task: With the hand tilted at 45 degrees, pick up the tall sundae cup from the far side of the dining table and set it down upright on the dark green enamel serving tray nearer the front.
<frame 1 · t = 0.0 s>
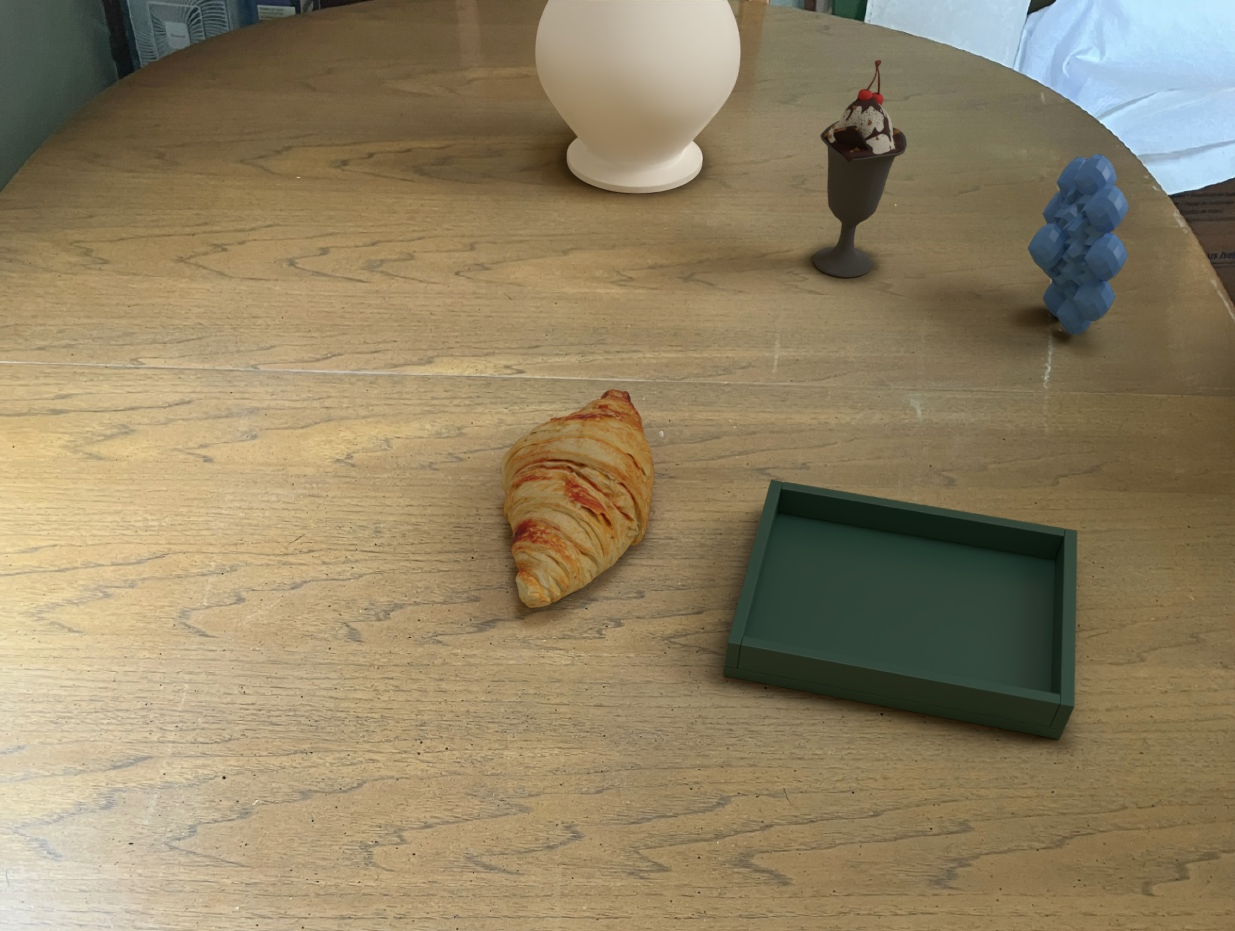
tray: (901, 617, 76), on the table
decorative vase: (634, 163, 114), on the table
sundae: (841, 264, 103), on the table
grapes: (1046, 319, 99), on the table
croissant: (575, 519, 82), on the table
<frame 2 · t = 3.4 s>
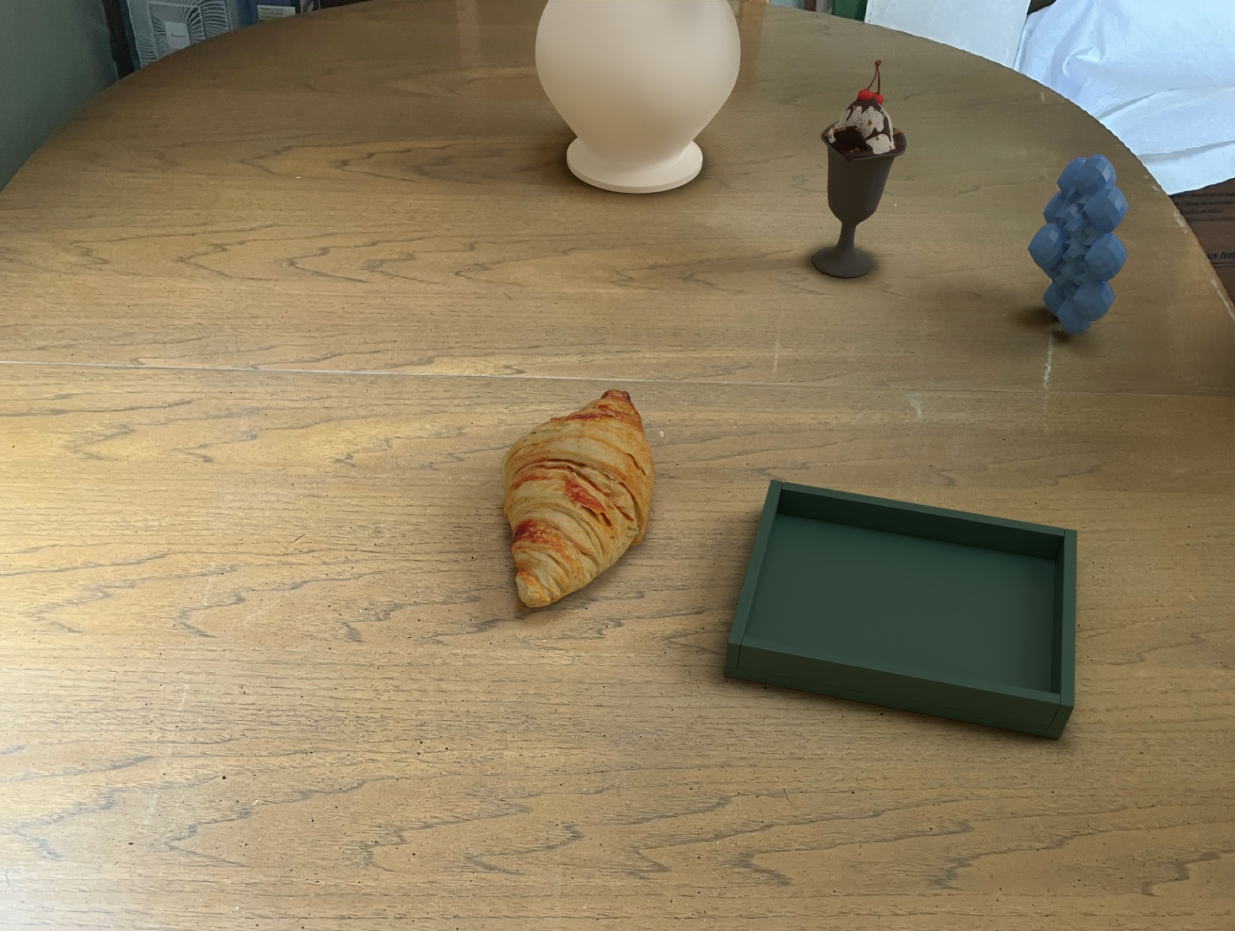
nothing on the table moved.
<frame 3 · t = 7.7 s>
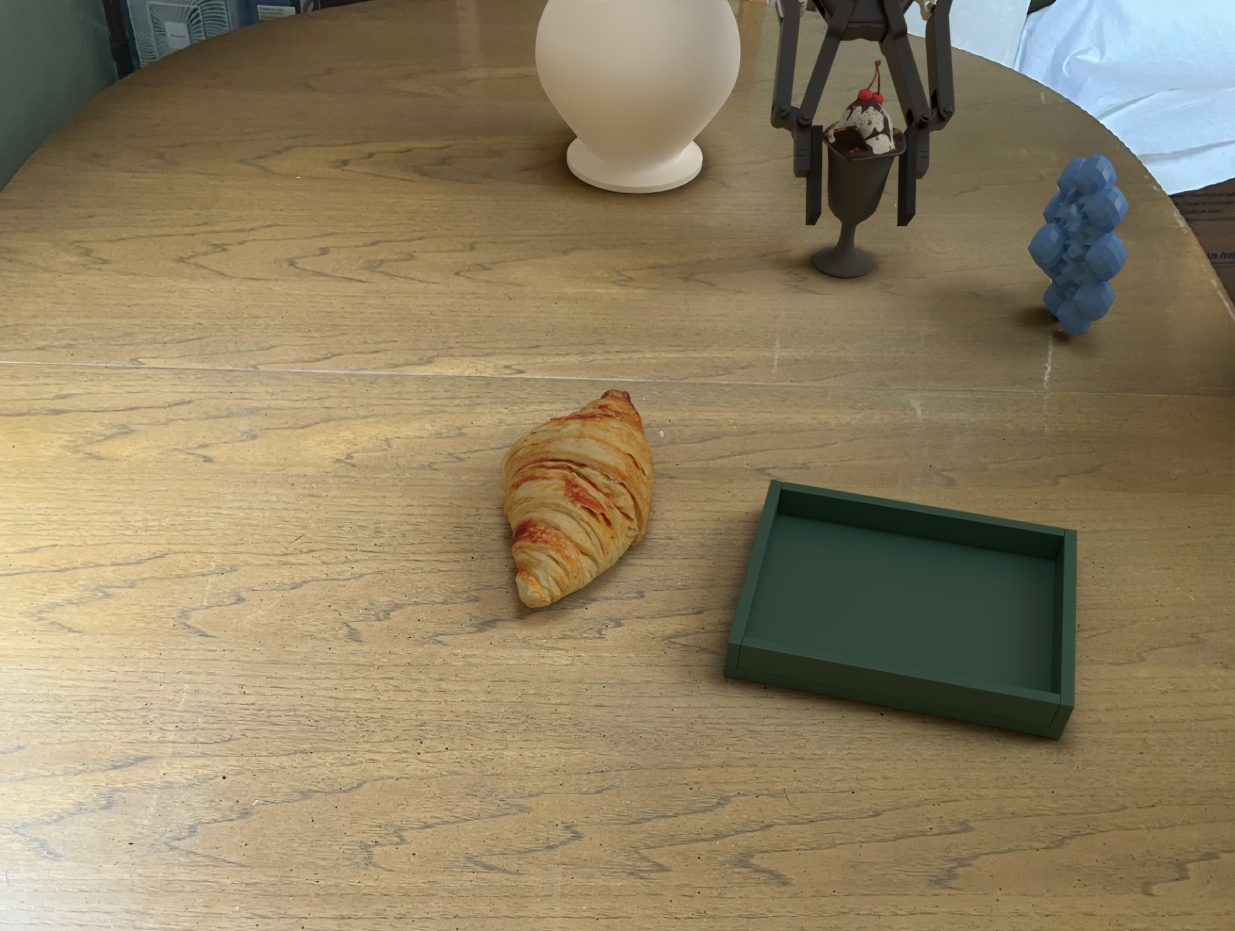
hand: (859, 219, 97), 5 cm above the table, tool tilted 45°, fingers closed on sundae, 7 cm apart
sundae: (841, 264, 103), on the table, touching gripper
everything else where it was.
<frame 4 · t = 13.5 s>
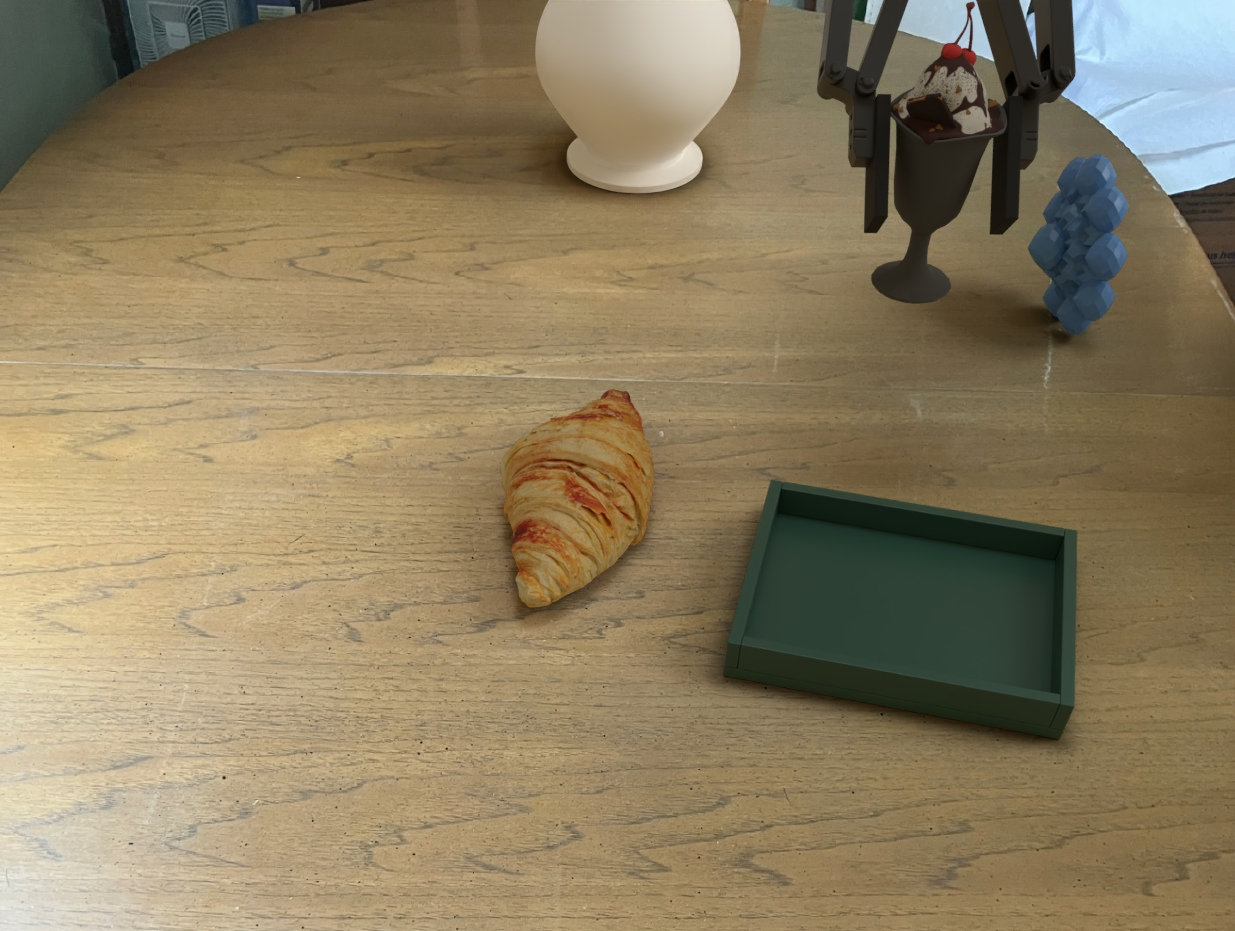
hand: (939, 225, 70), 18 cm above the table, tool tilted 45°, fingers closed on sundae, 7 cm apart
sundae: (909, 285, 77), point 13 cm above the table, touching gripper
everything else where it was.
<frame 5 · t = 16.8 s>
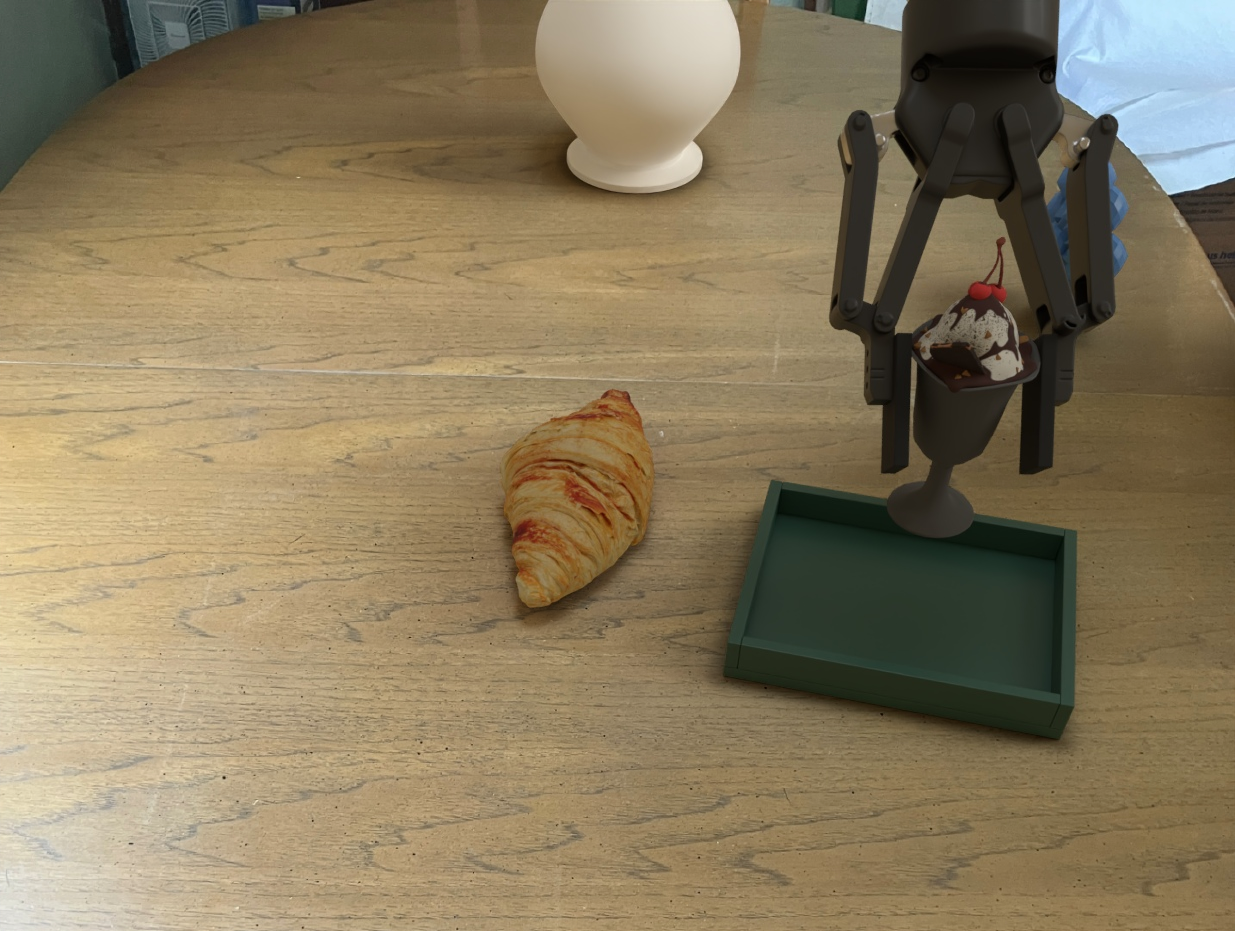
hand: (965, 469, 63), 14 cm above the table, tool tilted 45°, fingers closed on sundae, 7 cm apart
sundae: (928, 512, 70), point 8 cm above the table, touching gripper
everything else where it was.
when the fingers open (6 cm above the table, at t = 19.2 s): sundae stays where it is, resting on tray.
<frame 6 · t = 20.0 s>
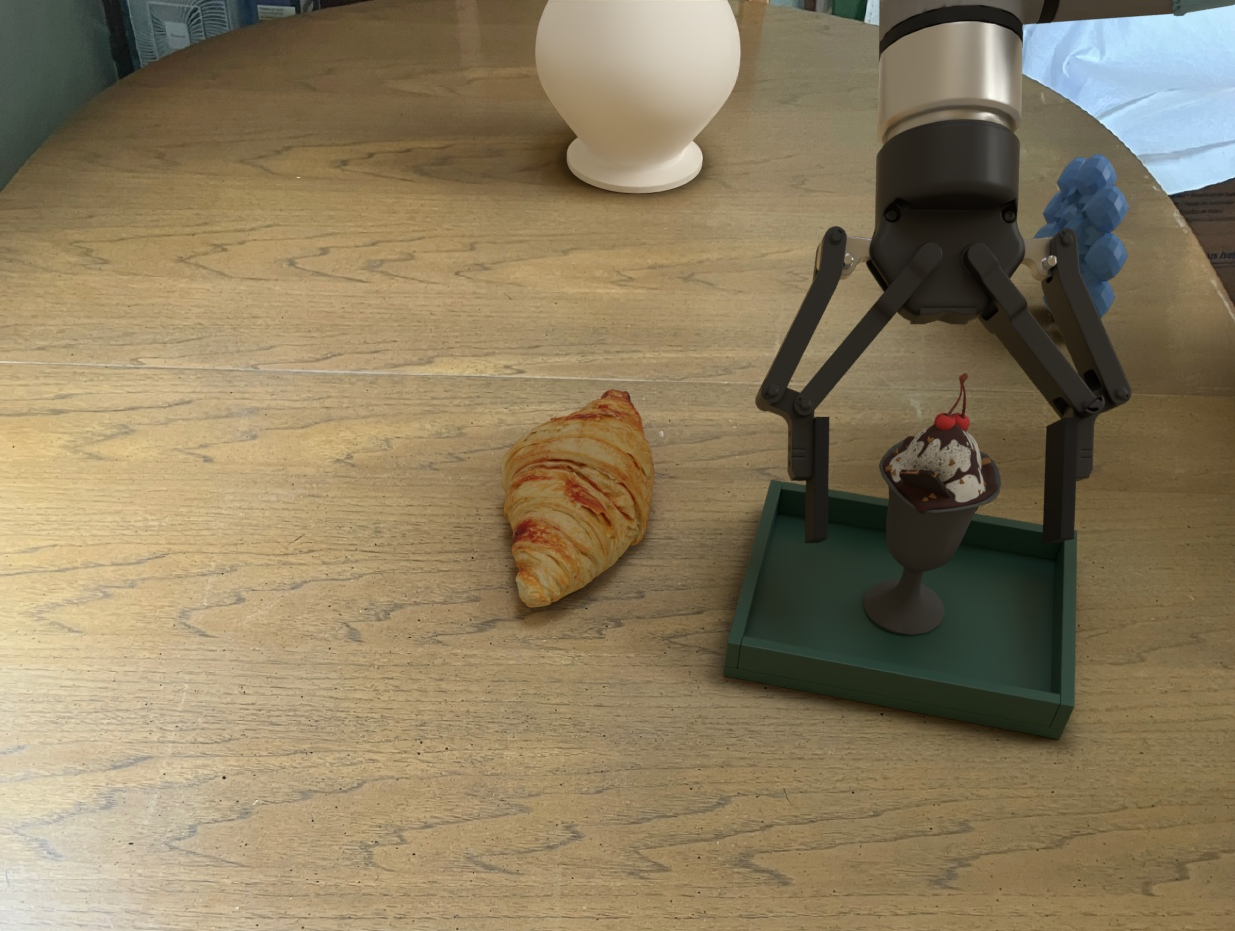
hand: (937, 541, 69), 8 cm above the table, tool tilted 45°, fingers open, 13 cm apart
sundae: (902, 609, 76), point 1 cm above the table, touching tray
everything else where it was.
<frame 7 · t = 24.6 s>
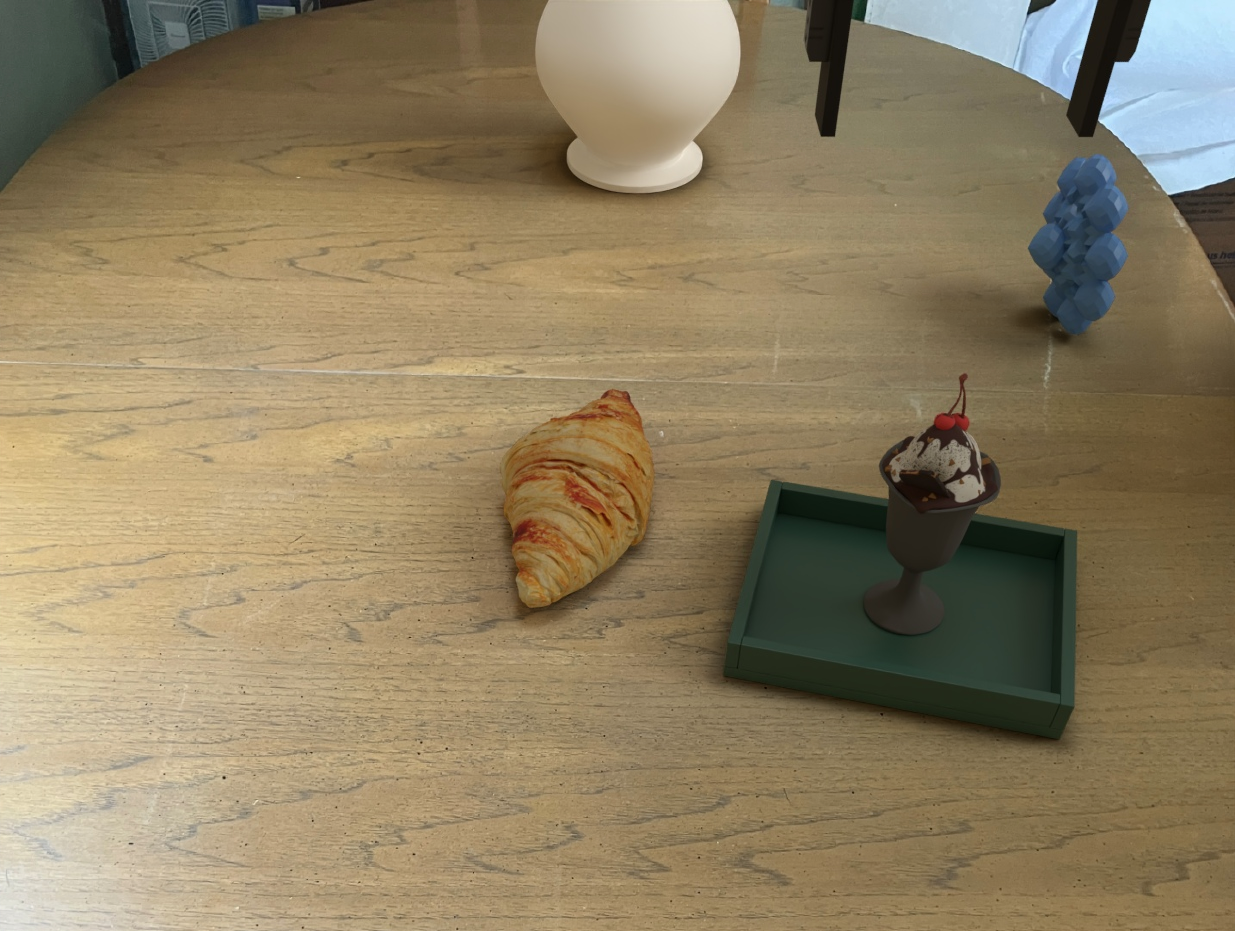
hand: (952, 126, 65), 24 cm above the table, tool pointing down, fingers open, 13 cm apart
nothing on the table moved.
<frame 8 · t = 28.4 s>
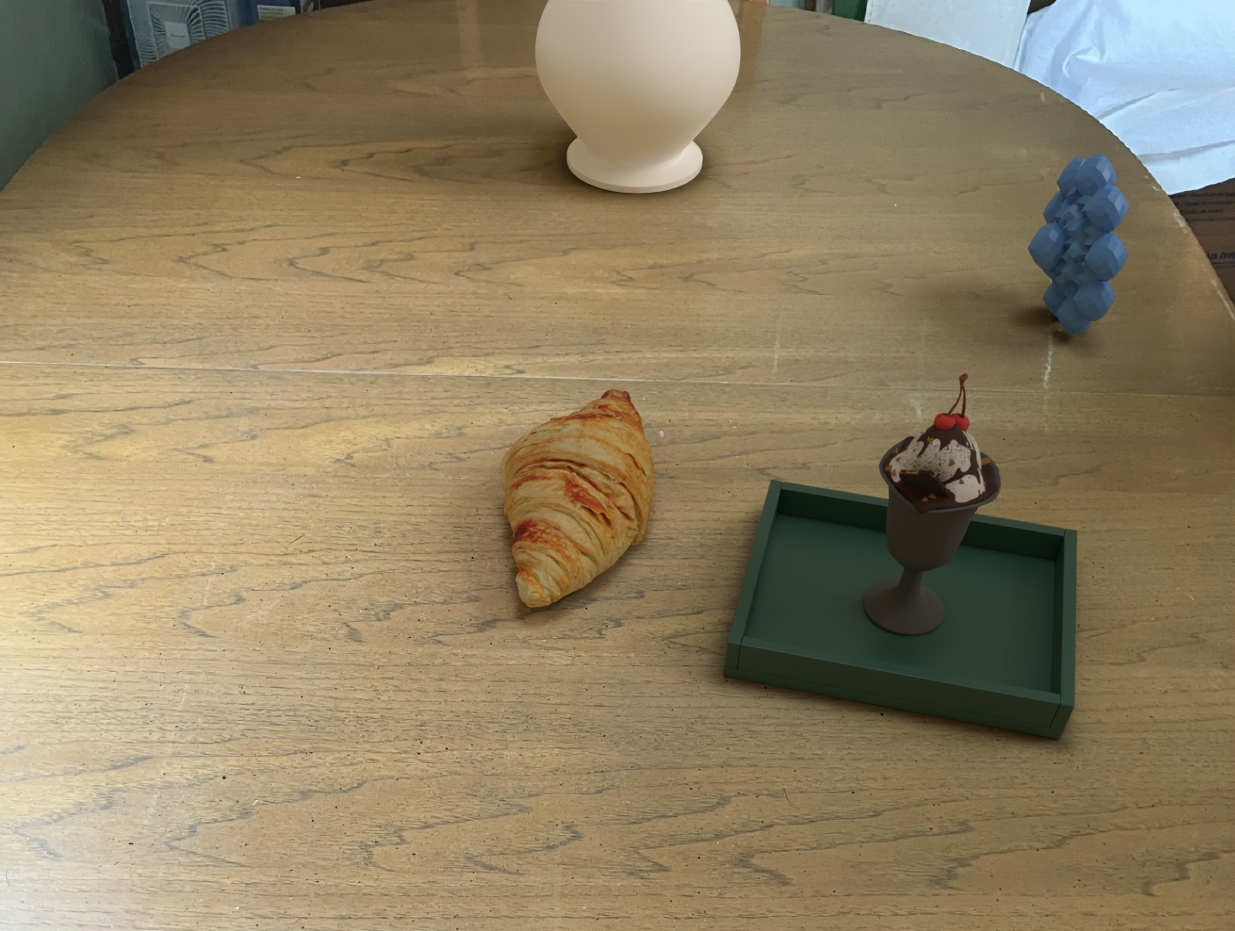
nothing on the table moved.
at the end: sundae inside the target area in the tray (0.1 cm from its centre), point 0.6 cm above the tray's base; sundae tilted 0°; the gripper is holding nothing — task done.
